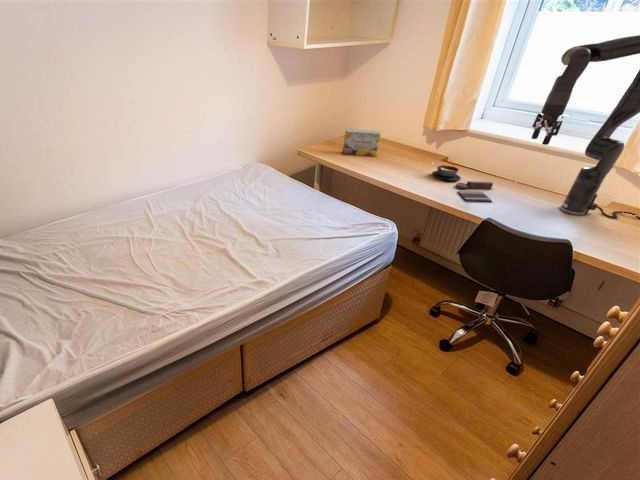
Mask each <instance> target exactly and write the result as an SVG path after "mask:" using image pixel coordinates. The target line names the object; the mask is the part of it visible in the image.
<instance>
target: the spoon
mask: <svg viewBox="0 0 640 480" xmlns="http://www.w3.org/2000/svg"><path fill="white" fill-rule="evenodd" d="M493 185H494V183H493V182H492V181H479V180H478V181H475V180H468V181H467V182H466V183H465V182H457V183H456V184H455V188H456V189H458V190H461V191H465V190H466V191H467V190H468V189H471V190H472V189H473V190H474V189H475V190H478V189H479V190H492V187H493Z"/></svg>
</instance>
